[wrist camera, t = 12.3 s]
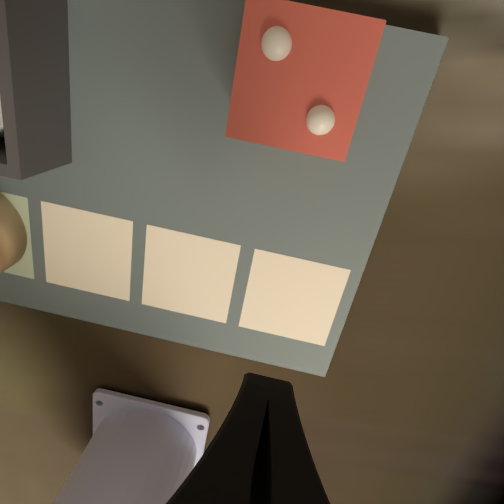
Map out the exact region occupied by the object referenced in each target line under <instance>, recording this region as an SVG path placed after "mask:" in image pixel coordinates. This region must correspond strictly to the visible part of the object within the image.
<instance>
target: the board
mask: <svg viewBox="0 0 504 504" xmlns="http://www.w3.org/2000/svg"><path fill="white" fill-rule="evenodd" d="M244 7H245V0H0V100H1V109H2V118H3V128H4V134H1V135H0V193H1V194H2V195H3V196H4V197H6V198H7V199H8V200H9V201H10V202H11V203H12V205H13V206H14V207H15V209H16V210H17V211H18V213H19V215H20V216H21V218H22V220H23V223H24V226H25V229H26V233H27V246H26V250H25V253H24V255H23V257H22V258H21V259H20V260H19V261H18V262H17V263H16V264H14V265H13V266H11V267H10V268H8V269H6V270H5V271H3V272H2V273H0V301H2V302H6V303H10V304H14V305H19V306H23V307H27V308H32V309H36V310H40V311H44V312H49V313H53V314H57V315H62V316H66V317H70V318H74V319H79V320H83V321H87V322H92V323H96V324H100V325H104V326H109V327H113V328H117V329H122V330H126V331H130V332H134V333H139V334H143V335H147V336H152V337H156V338H160V339H164V340H169V341H173V342H177V343H182V344H186V345H190V346H194V347H199V348H203V349H207V350H212V351H216V352H220V353H224V354H229V355H233V356H237V357H242V358H246V359H250V360H254V361H259V362H263V363H267V364H272V365H276V366H280V367H284V368H289V369H293V370H297V371H302V372H306V373H310V374H314V375H319V376H323V377H325V375H326V372H327V370H328V367H329V364H330V362H331V359H332V356H333V353H334V351H335V348H336V345H337V342H338V340H339V337H340V334H341V331H342V329H343V326H344V323H345V321H346V318H347V315H348V312H349V310H350V307H351V304H352V301H353V299H354V296H355V293H356V290H357V288H358V285H359V282H360V280H361V277H362V274H363V271H364V269H365V266H366V263H367V260H368V258H369V255H370V252H371V249H372V247H373V244H374V241H375V239H376V236H377V233H378V230H379V228H380V225H381V222H382V219H383V217H384V214H385V211H386V208H387V206H388V203H389V200H390V198H391V195H392V192H393V189H394V187H395V184H396V181H397V178H398V176H399V173H400V170H401V167H402V165H403V162H404V159H405V157H406V154H407V151H408V148H409V146H410V143H411V140H412V137H413V135H414V132H415V129H416V126H417V124H418V121H419V118H420V116H421V113H422V110H423V107H424V105H425V102H426V99H427V96H428V94H429V91H430V88H431V85H432V83H433V80H434V77H435V75H436V72H437V69H438V66H439V64H440V61H441V58H442V55H443V53H444V50H445V47H446V44H447V42H448V39H449V37H445V36H440V35H435V34H430V33H425V32H420V31H415V30H410V29H405V28H400V27H395V26H390V25H385V28H384V31H383V34H382V38H381V41H380V44H379V48H378V51H377V55H376V58H375V61H374V65H373V68H372V72H371V75H370V78H369V82H368V85H367V88H366V92H365V95H364V99H363V102H362V105H361V109H360V112H359V115H358V119H357V122H356V126H355V129H354V132H353V136H352V139H351V142H350V146H349V149H348V153H347V156H346V159H345V162H342V161H337V160H332V159H328V158H323V157H318V156H314V155H309V154H304V153H300V152H295V151H290V150H286V149H281V148H276V147H272V146H267V145H262V144H258V143H253V142H248V141H244V140H239V139H234V138H230V137H225V135H226V128H227V121H228V114H229V108H230V101H231V94H232V88H233V81H234V74H235V68H236V61H237V54H238V47H239V41H240V34H241V27H242V21H243V14H244Z"/></svg>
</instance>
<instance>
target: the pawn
mask: <svg viewBox="0 0 504 504" xmlns="http://www.w3.org/2000/svg"><path fill="white" fill-rule="evenodd" d="M26 246H27V233H26V229H25V226H24V223H23V220H22V218H21V216H20V215H19V213H18V211H17V210H16V209H15V207H14V206H13V205H12V203H11V202H10V201H9V200H8V199H7V198H6V197H4V196H3V195H2V194H1V193H0V273H2V272H3V271H5V270H6V269H8V268H10V267H11V266H13V265H14V264H16V263H17V262H18V261H19V260H20V259H21V258H22V257H23V255H24V253H25V250H26Z"/></svg>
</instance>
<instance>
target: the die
mask: <svg viewBox="0 0 504 504" xmlns="http://www.w3.org/2000/svg"><path fill="white" fill-rule="evenodd" d="M386 21H387V20H383V19H378V18H373V17H368V16H363V15H358V14H353V13H348V12H343V11H338V10H333V9H328V8H323V7H318V6H313V5H308V4H303V3H298V2H293V1H288V0H245V7H244V14H243V21H242V27H241V34H240V41H239V47H238V54H237V61H236V68H235V74H234V81H233V88H232V94H231V101H230V108H229V114H228V121H227V128H226V135H225V137H230V138H234V139H239V140H244V141H248V142H253V143H258V144H262V145H267V146H272V147H276V148H281V149H286V150H290V151H295V152H300V153H304V154H309V155H314V156H318V157H323V158H328V159H332V160H337V161H342V162H345V159H346V156H347V153H348V149H349V146H350V142H351V139H352V136H353V132H354V129H355V126H356V122H357V119H358V115H359V112H360V109H361V105H362V102H363V99H364V95H365V92H366V88H367V85H368V82H369V78H370V75H371V72H372V68H373V65H374V61H375V58H376V55H377V51H378V48H379V44H380V41H381V38H382V34H383V31H384V28H385V24H386Z"/></svg>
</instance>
